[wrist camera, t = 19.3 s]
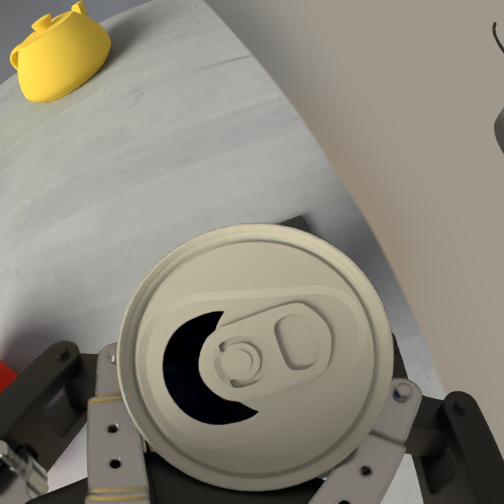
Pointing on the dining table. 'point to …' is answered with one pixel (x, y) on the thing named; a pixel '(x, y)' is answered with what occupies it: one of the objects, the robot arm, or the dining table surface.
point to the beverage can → (255, 357)
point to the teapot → (60, 54)
